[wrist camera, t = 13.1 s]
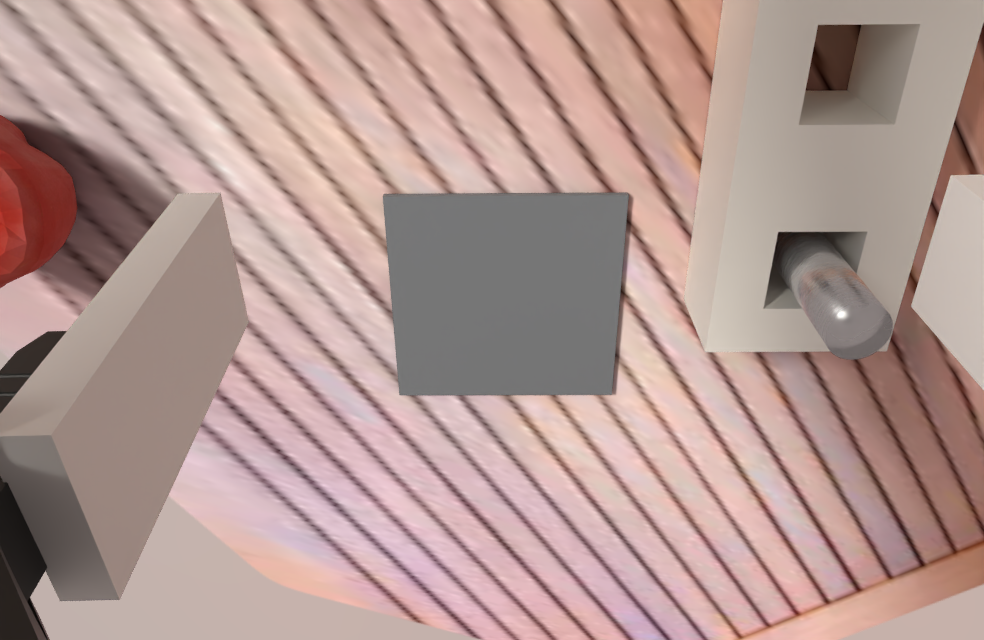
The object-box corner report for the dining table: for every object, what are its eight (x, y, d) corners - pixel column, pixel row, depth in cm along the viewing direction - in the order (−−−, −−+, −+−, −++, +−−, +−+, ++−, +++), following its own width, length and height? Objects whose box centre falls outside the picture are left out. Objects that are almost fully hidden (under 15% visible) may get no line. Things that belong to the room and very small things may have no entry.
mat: (400, 391, 53) (399, 395, 53) (383, 194, 46) (383, 196, 45) (610, 391, 53) (611, 394, 53) (627, 192, 46) (628, 195, 45)
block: (846, 298, 49) (886, 351, 44) (683, 298, 49) (705, 352, 44) (936, -60, 39) (1003, -45, 34) (730, -58, 39) (766, -43, 34)
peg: (749, 247, 47) (818, 359, 37) (758, 199, 46) (833, 303, 36) (799, 247, 47) (883, 359, 37) (810, 200, 46) (900, 303, 36)
